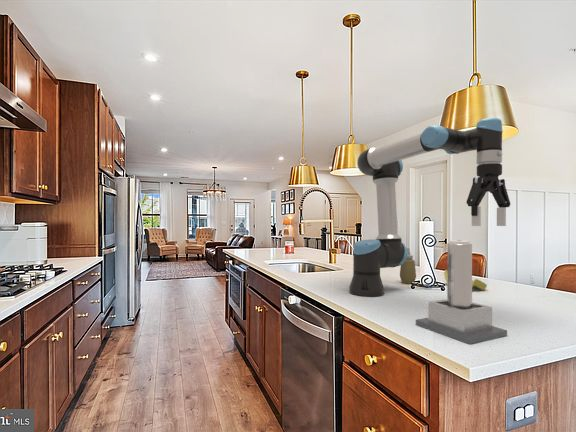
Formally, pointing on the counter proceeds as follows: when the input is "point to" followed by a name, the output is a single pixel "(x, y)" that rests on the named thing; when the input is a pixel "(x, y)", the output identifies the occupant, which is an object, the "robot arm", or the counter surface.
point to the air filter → (459, 274)
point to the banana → (473, 283)
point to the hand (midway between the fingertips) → (489, 226)
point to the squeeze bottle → (408, 270)
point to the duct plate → (461, 322)
